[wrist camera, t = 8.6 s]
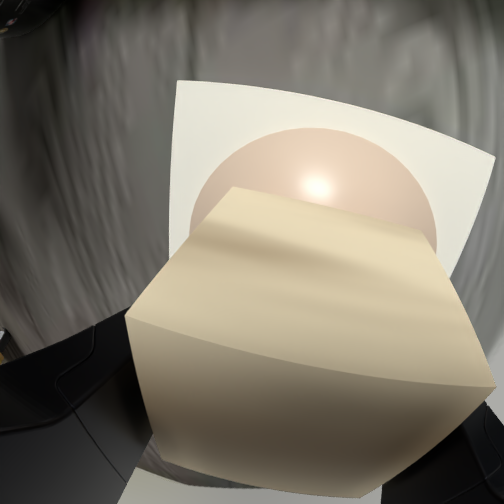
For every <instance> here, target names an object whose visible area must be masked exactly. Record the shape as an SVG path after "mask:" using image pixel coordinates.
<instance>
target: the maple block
mask: <svg viewBox="0 0 504 504" xmlns="http://www.w3.org/2000/svg"><path fill="white" fill-rule="evenodd" d="M125 320H126V325H127V331H128V336H129V341H130V346H131V350H132V355H133V360H134V364H135V368H136V373H137V377H138V381H139V385H140V389H141V393H142V396H143V400H144V404H145V407H146V411H147V415H148V418H149V421H150V425H151V428H152V431H153V434H154V438H155V441H156V444H157V447H158V450H159V453H160V456H161V459H162V460H165V461H167V462H170V463H173V464H176V465H179V466H182V467H185V468H188V469H191V470H194V471H197V472H201V473H204V474H208V475H211V476H215V477H218V478H222V479H226V480H230V481H234V482H238V483H243V484H247V485H252V486H257V487H262V488H267V489H273V490H279V491H285V492H292V493H299V494H307V495H317V496H328V497H342V498H361V497H363V496H364V495H366V494H368V493H370V492H371V491H373V490H374V489H376V488H377V487H379V486H381V485H382V484H384V483H385V482H387V481H388V480H390V479H391V478H393V477H394V476H396V475H397V474H399V473H400V472H402V471H403V470H405V469H406V468H407V467H409V466H410V465H411V464H413V463H414V462H415V461H417V460H418V459H419V458H421V457H422V456H423V455H425V454H426V453H427V452H428V451H430V450H431V449H432V448H433V447H435V446H436V445H437V444H438V443H439V442H441V441H442V440H443V439H444V438H445V437H446V436H448V435H449V434H450V433H451V432H452V431H453V430H454V429H455V428H457V427H458V426H459V425H460V424H461V423H462V422H463V421H464V420H465V419H466V418H467V417H468V416H469V415H470V414H471V413H472V412H473V411H474V410H475V409H476V408H477V407H478V406H479V405H480V404H481V403H482V402H483V401H484V400H485V399H486V398H487V397H488V396H489V395H490V394H491V393H492V392H493V390H494V389H495V388H496V385H495V382H494V379H493V376H492V373H491V371H490V368H489V365H488V363H487V360H486V357H485V355H484V352H483V350H482V347H481V345H480V343H479V340H478V338H477V336H476V333H475V331H474V329H473V326H472V324H471V322H470V320H469V318H468V316H467V313H466V311H465V309H464V307H463V305H462V303H461V301H460V299H459V297H458V295H457V293H456V291H455V289H454V287H453V285H452V283H451V281H450V279H449V278H448V276H447V274H446V272H445V270H444V268H443V267H442V265H441V263H440V261H439V259H438V258H437V256H436V254H435V252H434V251H433V249H432V247H431V246H430V244H429V242H428V241H427V239H426V237H425V236H424V234H423V232H422V231H421V230H417V229H414V228H410V227H407V226H403V225H399V224H396V223H392V222H388V221H384V220H381V219H377V218H373V217H369V216H365V215H361V214H357V213H353V212H349V211H345V210H341V209H337V208H332V207H328V206H324V205H320V204H315V203H311V202H306V201H302V200H297V199H293V198H288V197H283V196H278V195H274V194H269V193H264V192H259V191H254V190H249V189H243V188H238V187H232V188H231V189H230V190H229V191H228V192H227V194H226V195H225V196H224V197H223V198H222V199H221V200H220V201H219V203H218V204H217V205H216V206H215V207H214V208H213V209H212V210H211V212H210V213H209V214H208V215H207V216H206V217H205V218H204V220H203V221H202V222H201V223H200V224H199V225H198V226H197V228H196V229H195V230H194V231H193V232H192V233H191V235H190V236H189V237H188V238H187V239H186V240H185V242H184V243H183V244H182V245H181V246H180V247H179V249H178V250H177V251H176V252H175V253H174V255H173V256H172V257H171V258H170V259H169V261H168V262H167V263H166V264H165V265H164V267H163V268H162V269H161V270H160V272H159V273H158V274H157V275H156V276H155V278H154V279H153V280H152V281H151V283H150V284H149V285H148V286H147V288H146V289H145V290H144V291H143V293H142V294H141V295H140V296H139V298H138V299H137V300H136V301H135V303H134V304H133V305H132V306H131V308H130V309H129V310H128V311H127V313H126V314H125Z"/></svg>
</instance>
